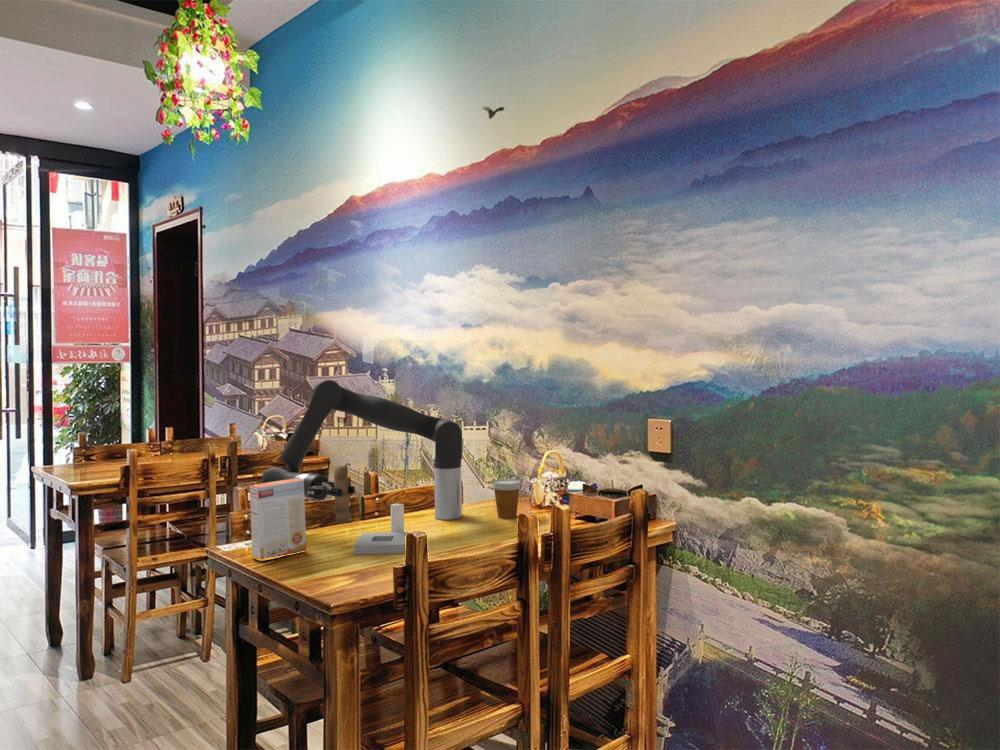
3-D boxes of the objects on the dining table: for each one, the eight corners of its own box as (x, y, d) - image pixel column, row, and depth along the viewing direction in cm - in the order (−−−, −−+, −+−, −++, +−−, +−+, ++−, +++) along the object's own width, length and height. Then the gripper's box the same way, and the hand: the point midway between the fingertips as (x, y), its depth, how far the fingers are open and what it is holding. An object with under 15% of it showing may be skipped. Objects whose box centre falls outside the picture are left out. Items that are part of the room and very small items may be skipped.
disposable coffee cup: (524, 518, 247) (523, 483, 246) (496, 520, 245) (496, 484, 244) (517, 512, 256) (516, 478, 256) (490, 514, 254) (489, 480, 253)
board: (362, 541, 221) (362, 533, 221) (409, 540, 221) (409, 532, 221) (354, 554, 207) (353, 545, 207) (403, 553, 207) (403, 544, 207)
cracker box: (296, 548, 214) (294, 477, 213) (307, 552, 209) (305, 479, 209) (250, 559, 204) (248, 484, 203) (260, 563, 200) (258, 486, 199)
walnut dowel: (337, 520, 217) (335, 466, 216) (350, 519, 217) (348, 465, 216) (334, 523, 213) (332, 468, 212) (348, 522, 213) (346, 467, 212)
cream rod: (392, 535, 227) (391, 503, 227) (405, 535, 227) (404, 503, 227) (390, 539, 223) (389, 506, 223) (403, 538, 223) (402, 506, 223)
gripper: (290, 477, 217) (327, 482, 207) (329, 470, 229) (366, 474, 218) (291, 502, 218) (328, 509, 207) (330, 494, 229) (367, 500, 218)
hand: (347, 491), depth 213 cm, fingers closed on walnut dowel, 4 cm apart
